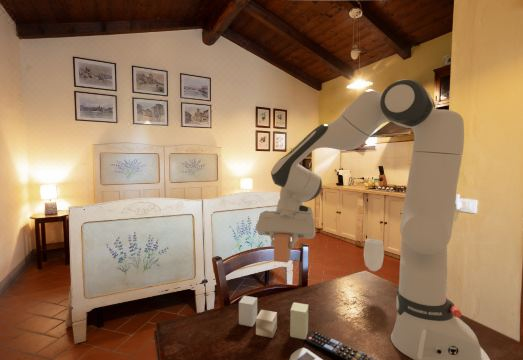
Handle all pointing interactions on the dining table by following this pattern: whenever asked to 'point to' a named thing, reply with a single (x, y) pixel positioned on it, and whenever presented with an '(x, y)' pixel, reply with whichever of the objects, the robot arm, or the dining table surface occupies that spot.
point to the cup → (373, 254)
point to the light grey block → (247, 311)
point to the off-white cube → (266, 323)
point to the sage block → (299, 320)
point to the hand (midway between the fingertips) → (281, 246)
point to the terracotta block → (282, 247)
